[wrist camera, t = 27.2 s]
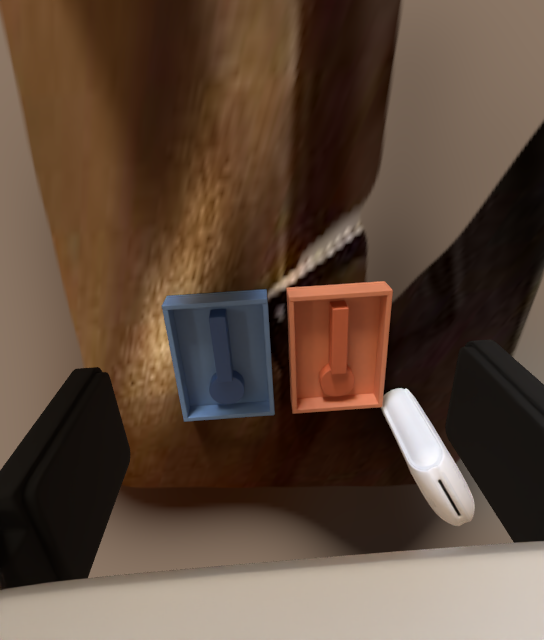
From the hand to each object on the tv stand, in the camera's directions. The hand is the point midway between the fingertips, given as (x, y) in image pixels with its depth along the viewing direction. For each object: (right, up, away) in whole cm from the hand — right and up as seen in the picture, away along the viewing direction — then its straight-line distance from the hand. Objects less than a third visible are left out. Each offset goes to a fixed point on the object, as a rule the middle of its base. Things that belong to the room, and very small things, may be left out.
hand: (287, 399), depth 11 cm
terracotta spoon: (+6, -1, +32) cm, 32 cm away
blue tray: (-6, -1, +32) cm, 32 cm away
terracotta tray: (+6, -1, +32) cm, 33 cm away
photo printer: (+16, -10, +37) cm, 42 cm away
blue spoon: (-6, -2, +31) cm, 32 cm away
